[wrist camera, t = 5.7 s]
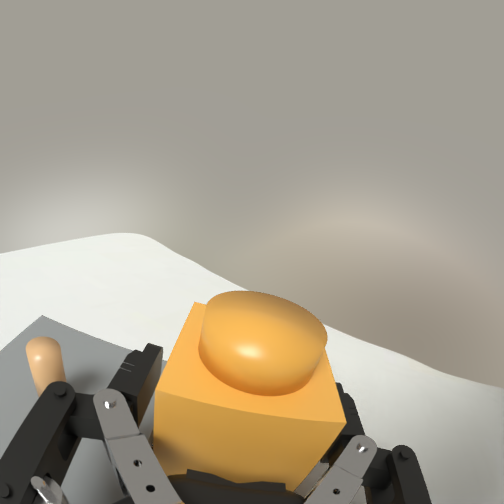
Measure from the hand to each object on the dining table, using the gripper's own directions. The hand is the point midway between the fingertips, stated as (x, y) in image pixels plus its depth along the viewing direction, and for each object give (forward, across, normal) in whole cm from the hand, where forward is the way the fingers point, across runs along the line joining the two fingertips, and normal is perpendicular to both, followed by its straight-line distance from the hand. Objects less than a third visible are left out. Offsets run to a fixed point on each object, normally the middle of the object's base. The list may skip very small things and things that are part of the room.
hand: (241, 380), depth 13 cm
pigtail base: (-2, +10, +6) cm, 12 cm away
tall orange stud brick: (-2, 0, +6) cm, 6 cm away
